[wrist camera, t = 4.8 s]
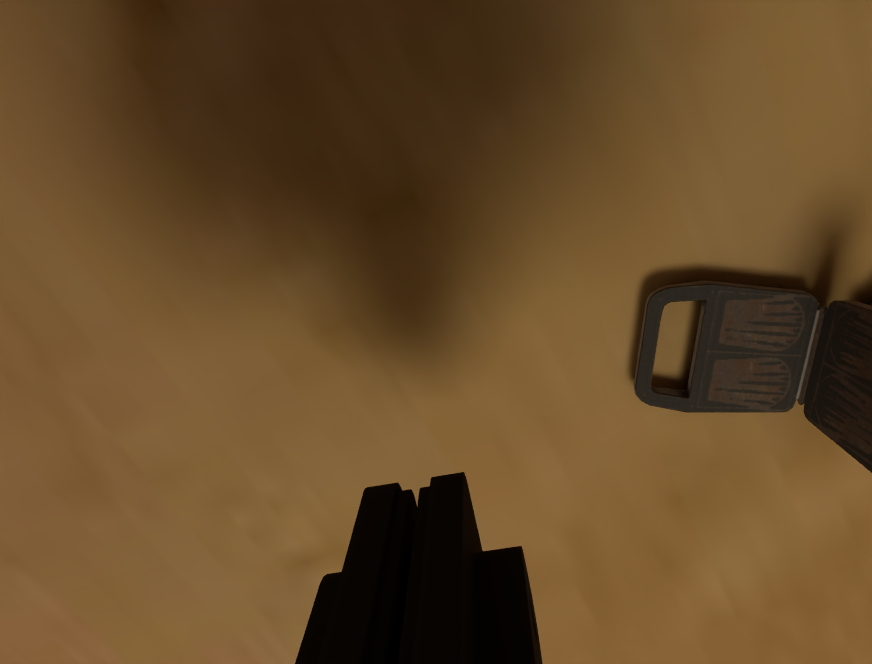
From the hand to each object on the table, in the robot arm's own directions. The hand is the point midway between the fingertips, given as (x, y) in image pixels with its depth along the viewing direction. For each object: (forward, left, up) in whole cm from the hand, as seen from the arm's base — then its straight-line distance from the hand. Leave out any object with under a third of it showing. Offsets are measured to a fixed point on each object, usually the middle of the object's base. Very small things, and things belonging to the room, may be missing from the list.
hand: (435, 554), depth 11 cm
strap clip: (-9, 0, -5) cm, 10 cm away
